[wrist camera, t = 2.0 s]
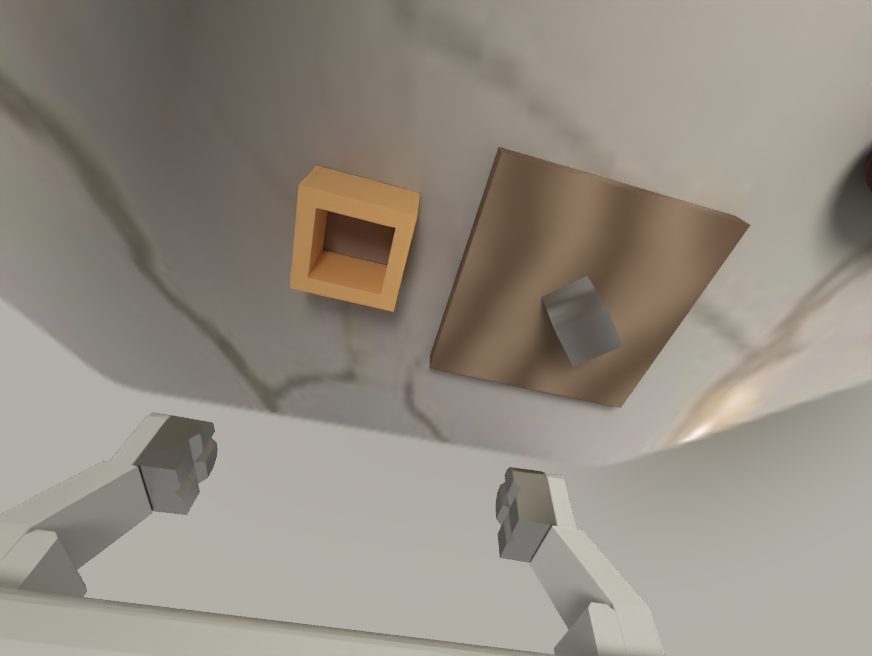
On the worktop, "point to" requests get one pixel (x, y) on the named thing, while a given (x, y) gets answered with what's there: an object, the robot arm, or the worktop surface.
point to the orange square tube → (339, 271)
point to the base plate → (575, 280)
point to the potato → (869, 172)
